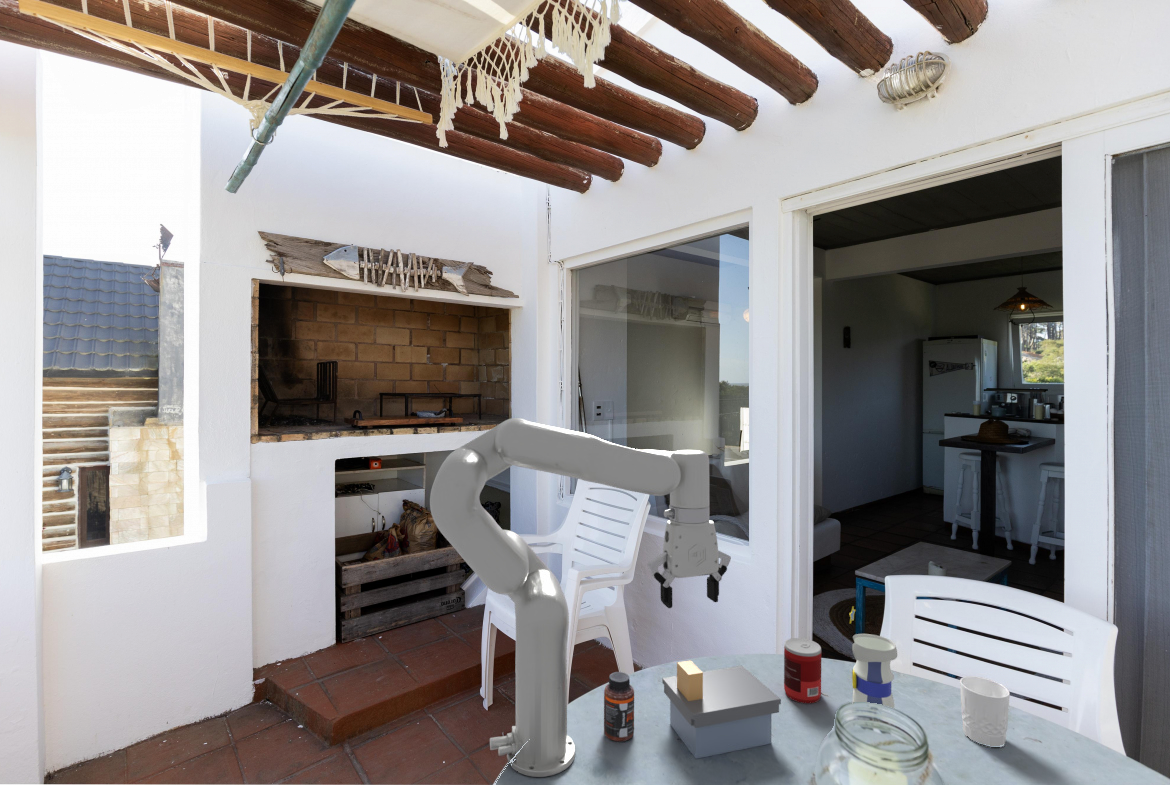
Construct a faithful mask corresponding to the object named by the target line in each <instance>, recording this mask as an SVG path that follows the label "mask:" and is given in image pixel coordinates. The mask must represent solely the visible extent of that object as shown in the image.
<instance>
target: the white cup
mask: <svg viewBox="0 0 1170 785" xmlns="http://www.w3.org/2000/svg"><path fill="white" fill-rule="evenodd" d="M959 686H960V688H959V690H960V707H961V718H962V732H963V733H964V735H966V736H965V737H967V736H968V737H969V738H970V739H972V740H974V741H977V742H979V743H982V744H986V745H990V746H1000V745H1003V744H1005V745H1006V743H1005V742H1007V731H1008V722H1009V711H1010V708H1009V707H1010V695H1011V694H1010V690H1009V689H1008V688H1007V687H1005V686H1004V685H1002V684H1000V683H999V682H997V681H994V680H991V679H988V678H985V677H980V676H974V675H973V676H972V675H969V676H963V677H961V678H960V679H959ZM968 737H967V738H968ZM969 738H968V739H969ZM970 739H969V740H970ZM972 740H971V741H972ZM974 741H973V742H974Z"/></svg>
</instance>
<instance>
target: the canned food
mask: <svg viewBox="0 0 1170 785" xmlns="http://www.w3.org/2000/svg"><path fill="white" fill-rule="evenodd" d="M783 646H784V647H783V648H784V650H783V655H784V656H783V678H784V679H783V687H784V688H783V689H784V692H785V695H786V697H788V698H789V699H790V700H792V701H794V702H797V703H801V704H814V703H817V702H819V701H820V699H821V697H822V696H821V695H822V647H821V645H820V644H819V643H817V642H816V641H814V640H810V639H808V638H803V637H794V638H788V639H786V640H785V641H784V643H783Z"/></svg>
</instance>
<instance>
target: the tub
mask: <svg viewBox="0 0 1170 785" xmlns="http://www.w3.org/2000/svg"><path fill="white" fill-rule="evenodd" d="M669 701H670V705H669V706H670V707H669V711H670V713H669V715H670V716H669V717H670V718H669V721H670V722H669V723H670V724H669V725H670V726H671V727H672V729H673V730H674V731H675V732H676V734H677V735H678V737H679V739H681V741H682V742H683V743H684V745H685V746H686V748H687V750H689V752H690V753H691V754H692V756H693V757H694V758H695V760H696V759H697V760H698V759H702V758H706V757H711V756H717V755H721V754H726V753H730V752H737V751H741V750H745V749H747V750H748V749H750V748H756V747H760V746H765V745H771V744H772V714H768V715H762V716H757V717H752V718H746V719H741V720H736V721H730V722H725V723H720V724H714V725H709V726H704V727H698V728H695V727H694V726H691V725H690V724H689V723H688V721H687V720H686V719H685V718H684V716H683V715H682V714H681V713H680V711H679V710H678V709H677V708H676V707H675V705H674V704H673V703H672V702H671V700H670V699H669Z"/></svg>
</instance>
